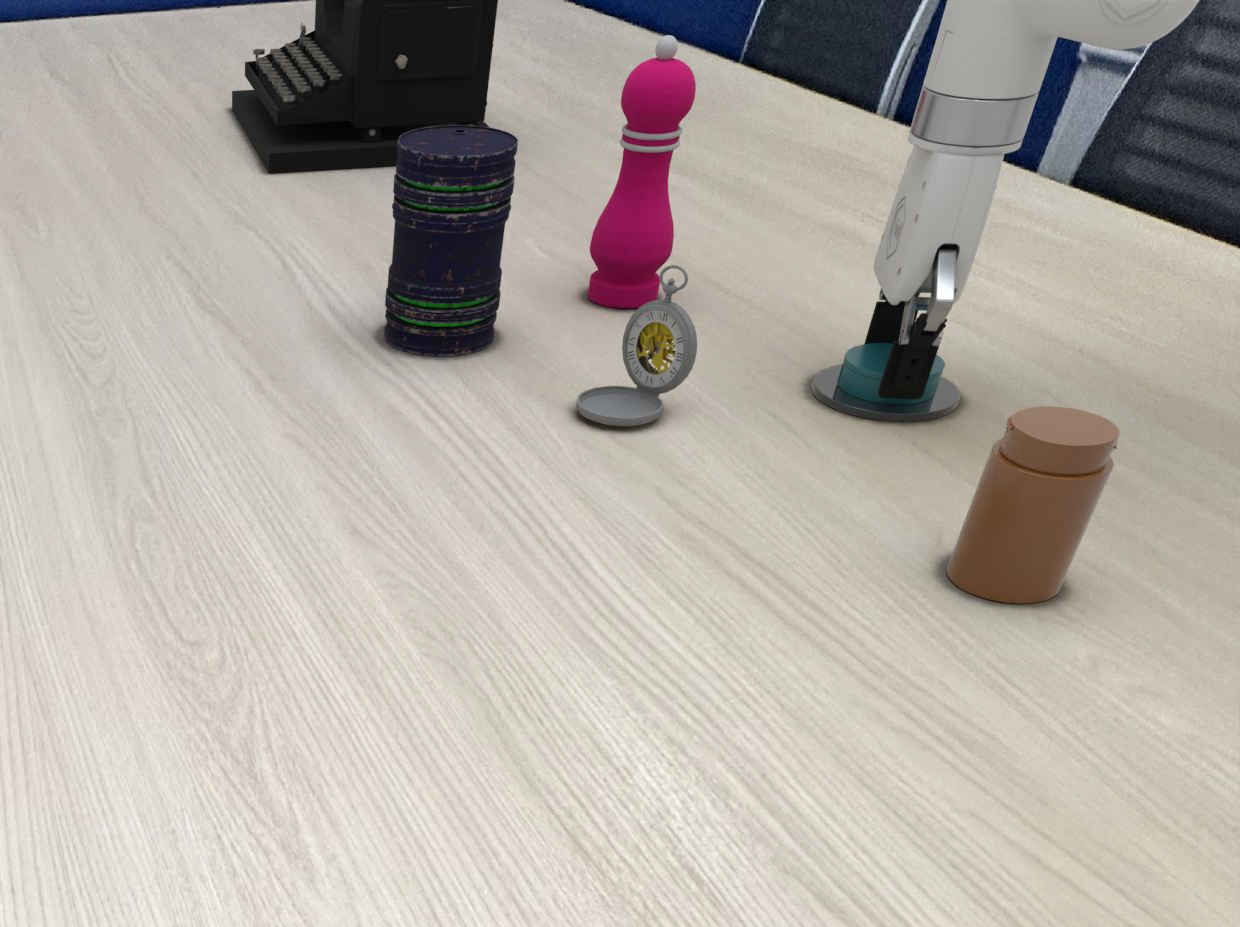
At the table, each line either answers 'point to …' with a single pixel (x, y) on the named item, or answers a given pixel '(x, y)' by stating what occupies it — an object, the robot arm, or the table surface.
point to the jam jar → (1033, 504)
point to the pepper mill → (642, 183)
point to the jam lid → (878, 374)
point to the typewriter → (367, 82)
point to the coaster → (841, 401)
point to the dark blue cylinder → (448, 238)
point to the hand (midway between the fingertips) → (890, 375)
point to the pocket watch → (647, 362)
